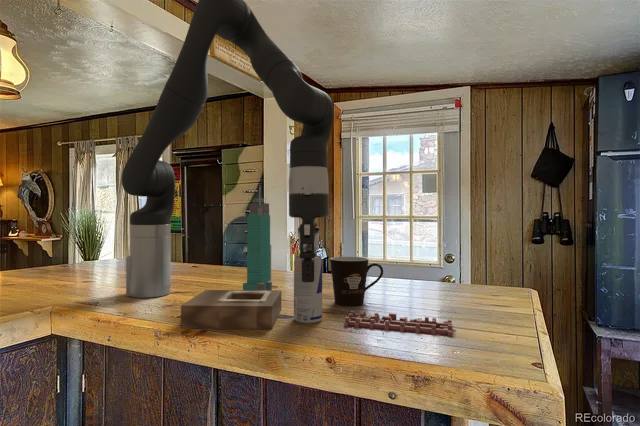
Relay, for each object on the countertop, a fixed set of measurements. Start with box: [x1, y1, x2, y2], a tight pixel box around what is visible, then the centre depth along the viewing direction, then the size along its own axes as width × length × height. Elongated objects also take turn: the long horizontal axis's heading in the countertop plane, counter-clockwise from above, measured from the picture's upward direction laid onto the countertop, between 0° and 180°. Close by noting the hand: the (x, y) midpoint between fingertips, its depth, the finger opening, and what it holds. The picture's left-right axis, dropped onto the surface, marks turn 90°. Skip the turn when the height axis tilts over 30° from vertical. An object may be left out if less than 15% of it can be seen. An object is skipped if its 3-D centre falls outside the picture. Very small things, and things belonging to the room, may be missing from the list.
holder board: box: [180, 289, 282, 330], centre depth 77 cm, size 16×14×4 cm
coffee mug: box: [329, 256, 384, 308], centre depth 89 cm, size 12×9×10 cm
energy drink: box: [293, 255, 323, 325], centre depth 75 cm, size 5×5×12 cm
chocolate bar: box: [343, 310, 457, 338], centre depth 72 cm, size 7×19×2 cm, turn 73°
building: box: [242, 186, 273, 290], centre depth 98 cm, size 6×6×30 cm
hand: (309, 278), depth 75 cm, fingers open, 8 cm apart
